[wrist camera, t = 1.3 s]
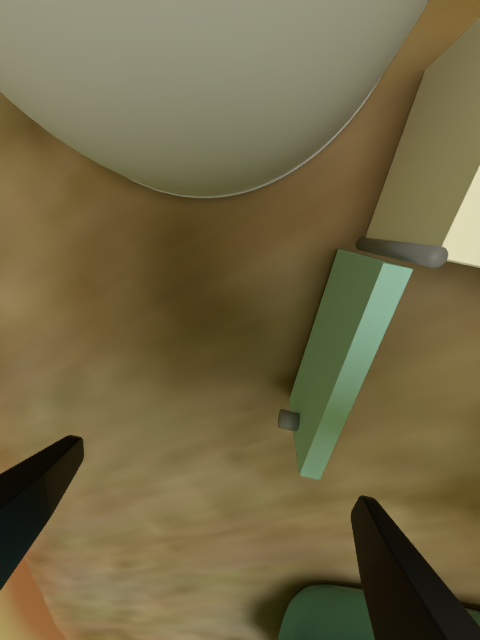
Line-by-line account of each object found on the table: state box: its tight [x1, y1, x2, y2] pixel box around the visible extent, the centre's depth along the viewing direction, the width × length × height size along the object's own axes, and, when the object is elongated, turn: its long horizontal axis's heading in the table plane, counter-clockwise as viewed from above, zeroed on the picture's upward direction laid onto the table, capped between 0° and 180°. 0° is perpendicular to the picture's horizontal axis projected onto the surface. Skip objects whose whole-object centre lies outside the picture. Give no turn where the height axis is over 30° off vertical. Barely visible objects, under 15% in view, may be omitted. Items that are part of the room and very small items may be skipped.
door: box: [278, 249, 413, 480], centre depth 15 cm, size 12×2×7 cm, turn 169°
